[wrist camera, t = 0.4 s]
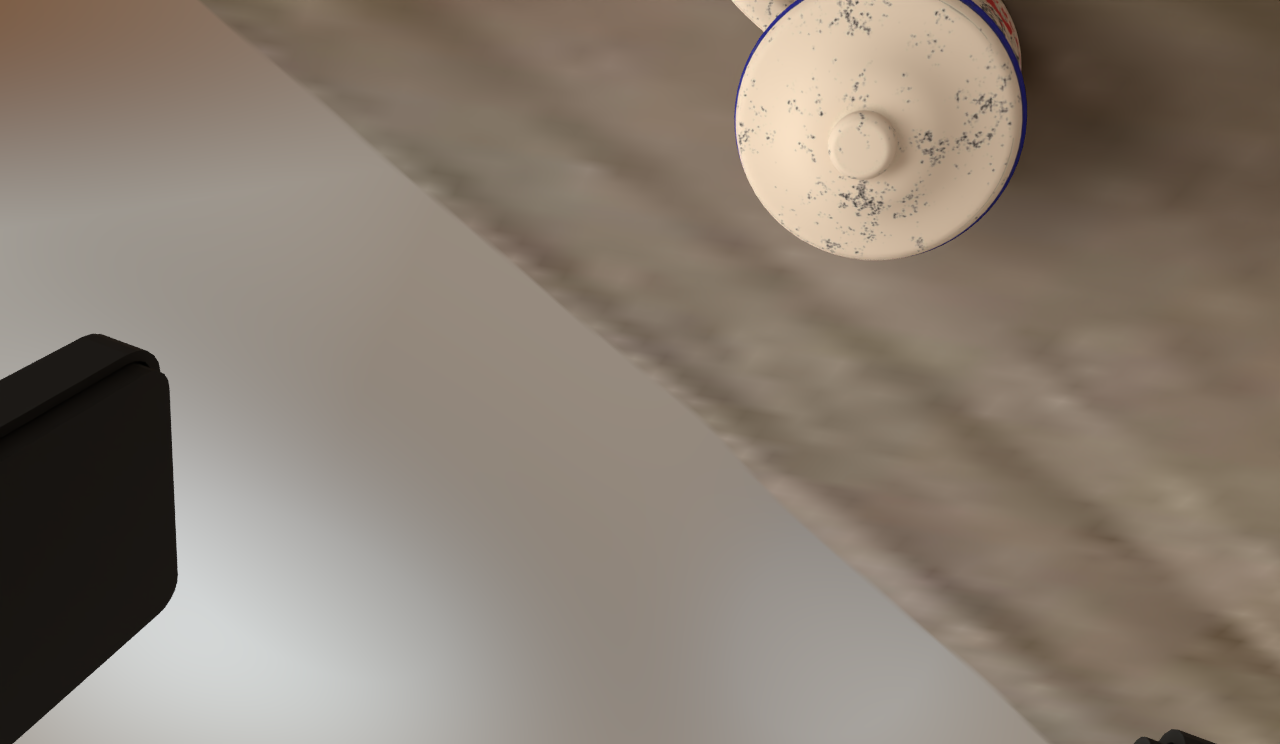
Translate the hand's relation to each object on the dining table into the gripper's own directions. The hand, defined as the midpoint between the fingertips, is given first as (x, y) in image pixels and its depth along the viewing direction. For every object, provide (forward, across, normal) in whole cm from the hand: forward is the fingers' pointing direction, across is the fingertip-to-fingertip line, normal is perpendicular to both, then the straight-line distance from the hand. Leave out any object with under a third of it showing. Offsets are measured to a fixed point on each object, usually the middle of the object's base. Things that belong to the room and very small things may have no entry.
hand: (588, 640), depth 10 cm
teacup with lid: (+36, +2, +1) cm, 36 cm away
